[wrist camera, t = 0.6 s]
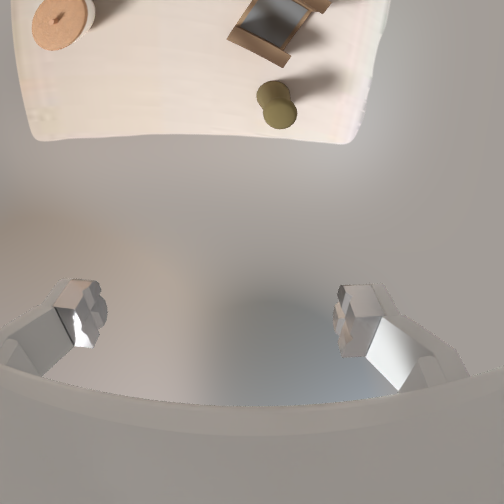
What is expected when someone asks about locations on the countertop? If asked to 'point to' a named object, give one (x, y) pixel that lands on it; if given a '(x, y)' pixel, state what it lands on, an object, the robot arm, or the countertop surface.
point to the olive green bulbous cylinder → (276, 105)
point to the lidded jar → (62, 22)
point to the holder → (273, 26)
